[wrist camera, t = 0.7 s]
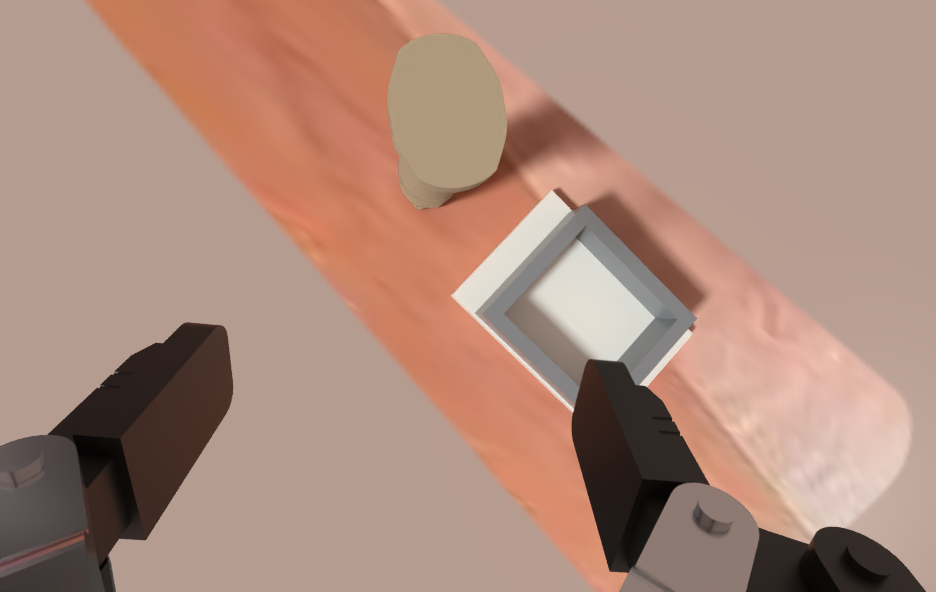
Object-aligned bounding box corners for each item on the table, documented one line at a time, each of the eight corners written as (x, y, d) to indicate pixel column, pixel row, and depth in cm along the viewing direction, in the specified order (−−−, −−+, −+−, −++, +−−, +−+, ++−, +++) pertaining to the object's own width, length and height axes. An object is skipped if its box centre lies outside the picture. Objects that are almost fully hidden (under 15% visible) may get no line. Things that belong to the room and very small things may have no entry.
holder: (450, 295, 36) (457, 294, 32) (547, 192, 37) (566, 180, 33) (596, 435, 38) (620, 451, 34) (685, 332, 39) (718, 336, 35)
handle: (451, 140, 36) (492, 28, 21) (465, 229, 36) (516, 180, 21) (383, 147, 36) (377, 38, 21) (398, 238, 36) (403, 195, 21)
